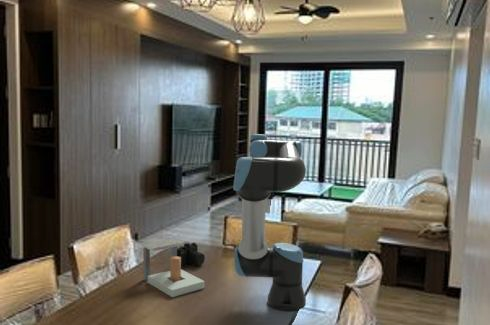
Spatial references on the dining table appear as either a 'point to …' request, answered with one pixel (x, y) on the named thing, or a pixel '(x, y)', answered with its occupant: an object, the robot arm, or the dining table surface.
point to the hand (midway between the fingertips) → (256, 214)
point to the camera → (190, 255)
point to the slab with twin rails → (158, 246)
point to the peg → (175, 269)
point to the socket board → (176, 283)
